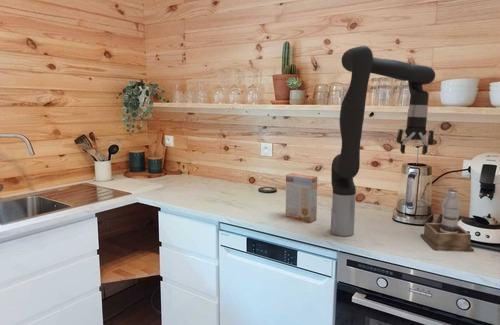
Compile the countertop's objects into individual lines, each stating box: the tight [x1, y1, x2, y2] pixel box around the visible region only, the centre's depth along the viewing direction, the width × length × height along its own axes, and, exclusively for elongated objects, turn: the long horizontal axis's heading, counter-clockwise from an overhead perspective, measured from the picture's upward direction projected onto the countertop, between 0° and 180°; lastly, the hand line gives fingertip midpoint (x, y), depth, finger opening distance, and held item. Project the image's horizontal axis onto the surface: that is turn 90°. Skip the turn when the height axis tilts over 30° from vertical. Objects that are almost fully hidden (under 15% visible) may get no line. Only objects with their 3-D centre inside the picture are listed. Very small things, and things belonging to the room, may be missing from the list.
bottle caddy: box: [419, 222, 475, 253], centre depth 138 cm, size 14×14×6 cm
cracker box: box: [285, 173, 318, 223], centre depth 167 cm, size 14×6×21 cm, turn 48°
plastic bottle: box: [439, 189, 462, 234], centre depth 136 cm, size 6×7×20 cm
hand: (413, 153), depth 153 cm, fingers open, 8 cm apart
